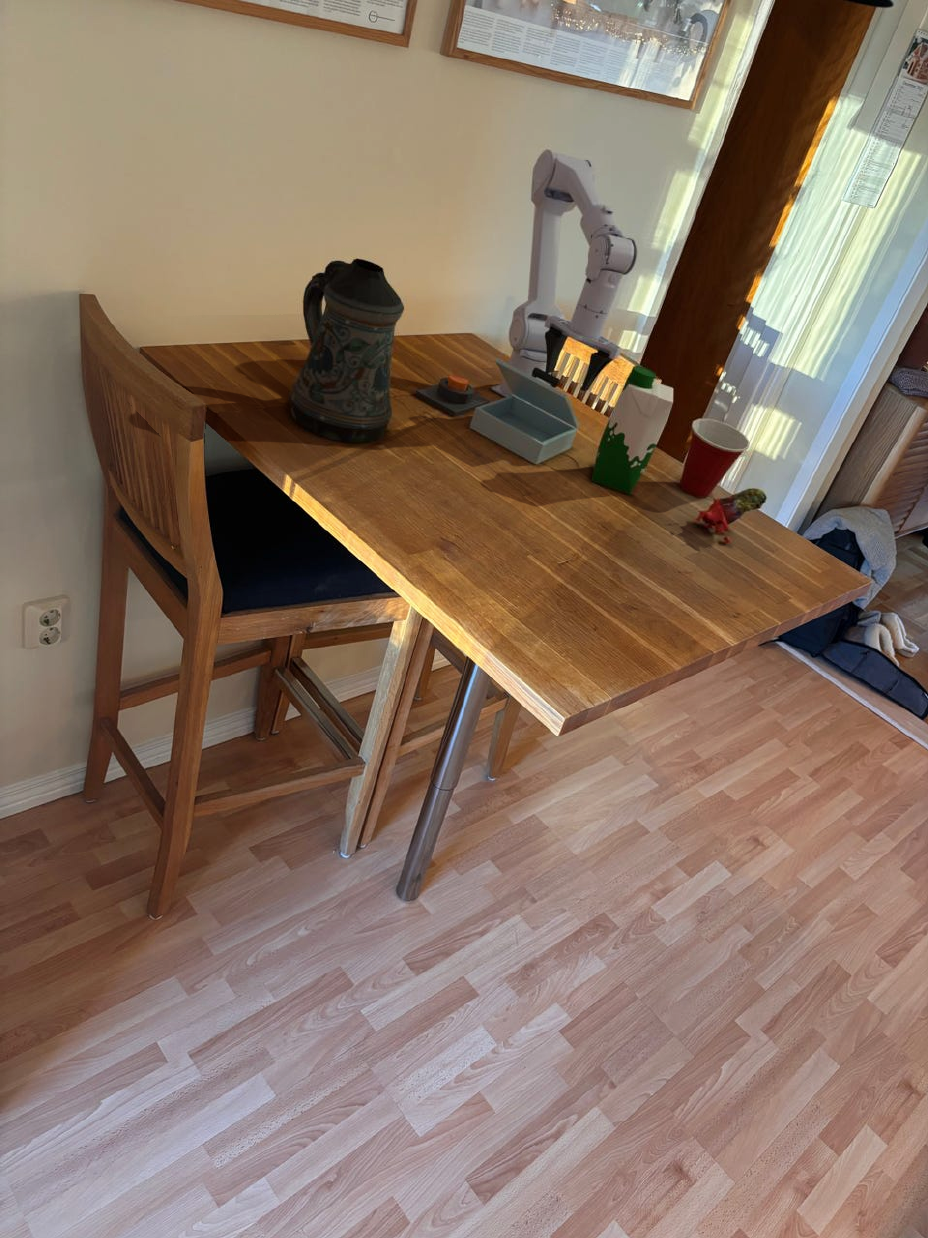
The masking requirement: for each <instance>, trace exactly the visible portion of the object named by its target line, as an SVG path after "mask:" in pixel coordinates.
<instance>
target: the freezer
mask: <svg viewBox="0 0 928 1238" xmlns="http://www.w3.org/2000/svg"><path fill="white" fill-rule="evenodd" d="M469 428H470V429H472V430H473V431H475V432H477V433H479V434H480V435H482V436H484V437H485V438H487V439H489V440H491V441H492V442H495V443H497V444H498V445H500V446H502V447H503V448H504V449H507V450H508V451H511V452H512V453H514V454H516V455H518V456H520V457H521V458H523V459H525V460H526V461H528V462H530V463H532V464H534V465H535V466H536V465H539V464H541V463H543V462H545V461H546V460H550V459H551V458H553V457H555V456H557V455H559V454H561V453H564V452H565V451H569V450H570V449H571V448H572V445H573V443H574V440H575V437H576V435H577V432H578V429H577V428H575V427H573V426H571V425H569V424H567V423H566V422H564V421H562V420H560V419H558V418H556V417H554V416H553V415H551V414H549V413H547V412H545V411H543V410H541V409H539V408H538V407H536V406H534V405H532V404H529V403H527V402H525V401H523V400H522V399H520V398H518V397H516V396H514V395H511V396H509V397H503V398H500V399H497V400H493V401H490V402H489V403H488V404H485V405H482V406H479V407H476V408H475V410H473V415H472V418H471V421H470V424H469Z"/></svg>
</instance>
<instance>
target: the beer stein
mask: <svg viewBox="0 0 928 1238" xmlns="http://www.w3.org/2000/svg"><path fill="white" fill-rule="evenodd" d="M384 271H385V270H384V268H383V267H382V266H380V264H377V263H374V262H372V261H369V260H366V259H362V258H354V259H353V260H352V261H351V262H350V263H349V262H346V261H344V260H339V259H337V260H331V261H330V262H329V263H328V264H327V265H326V266H325V268H324V272H317V273H316V274H314V275H312V276H311V280H309V282H308V283H307V285H306V286H305V288H304V292H303V297H302V314H303V315H302V316H303V320H304V321H303V322H304V326H305V331H306V334H307V338H308V341H309V343H310V346H311V347H310V349H309V352H308V355H307V357H306V359H305V362H304V364H303V367H302V368H301V371H300V373H299V375H298V377H297V379H296V380H295V381H294V383H293V384H292V386H291V388H290V395H289V396H290V397H289V398H290V414H291V416H292V418H293V419H294V421H296V422H297V424H299V425H300V426H301V427H303V428H305V429H307V430H309V431H310V432H311V433H313V434H316V435H318V436H320V437H323V438H326V439H328V440H333V441H338V442H343V443H348V444H356V443H357V444H369V443H372V442H374V441H377V440H381V439H383V437H384V435H385V433H386V430H387V426H388V425H389V422H390V420H391V419H392V416H393V409H392V405H391V398H390V397H391V395H390V391H391V389H390V387H391V385H390V384H391V369H392V358H393V351H394V340H395V332H396V331H395V330H396V326H397V323H398V321H399V320H400V319H401V317H402V316H403V313H404V311H405V306H404V303H403V302H402V298H401V297H400V296H399V294H398V293H397V292H396V291H395V289H394V288H393V287H392V285H391V284H390V283H389V281H388V280H387V278H386V276H385V272H384ZM323 300H324V303H325V306H324V310H323Z"/></svg>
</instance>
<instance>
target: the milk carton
mask: <svg viewBox="0 0 928 1238" xmlns="http://www.w3.org/2000/svg"><path fill="white" fill-rule="evenodd" d="M656 376H657V374H656V372H654V371H653V370H652V369H649V368H647V367H644V366H641V365H634V366H633V367H632V368H631V370H630V372H629V375H628V377H627V378H626V380H625V383H624V385H623V387H622V389H621V392H620V394H619V395H618V398H617V400H616V402H615V405H614V407H613V409H612V412H611V414H610V417H609V419H608V422H607V424H606V426H605V429H604V431H603V434H602V436H601V438H600V442H599V445H598V448H597V452H596V457H595V461H594V466H593V472H592V477H591V482H593V483H596V484H599V485H601V486H603V487H607V488H610V489H612V490H615V491H618V492H621V493H623V494H626V495H629V496H630V495H631V494H632V492H633V490H634V489H635V487H636V485H637V483H638V482H639V481H640V479H641V477H642V476H643V474H644V472H645V470H646V469H647V467H648V464H649V463H650V460H651V458H652V456H653V453H654V451H655V449H656V447H657V444H658V443H659V440H660V438H661V435H662V434H663V431H664V429H665V427H666V424H667V422H668V418H669V415H670V413H671V410H672V407H673V404H674V388H673V387H672V386H668V385H667V384H663V383H660V382H659V381H658V380H656Z"/></svg>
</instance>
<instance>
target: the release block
mask: <svg viewBox="0 0 928 1238" xmlns="http://www.w3.org/2000/svg"><path fill="white" fill-rule="evenodd" d="M448 379H449V377H443V378H440V379H439V381H438V384H434V385H431V386H428V387H427V386H426V387H424V388H420V389H416V391H415V397H418V398H419V399H421V400H423V401H424V402H426V403H428V404H429V405H432V406H434V407H436V408H437V409H439V410H441V411H443V412H444V413H446V414H448V415H450V416H451V417H454V418H455V417H456V418H457V417H459V416H462V415H464V414H467V413H470V412H474V411H475V408H476V407H479V406H482V405H485V404H488V403H491V401H490V400H489V399H487V398H486V397H484V396H482V395H480V394H478V393H476V392H474V391H475V390H474V388H473V387H472V386H471V384H469V383H468V384H467V388H466V391H458V390H455V389H452V388H450V387H449V386H448V385H447V383H448Z"/></svg>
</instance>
